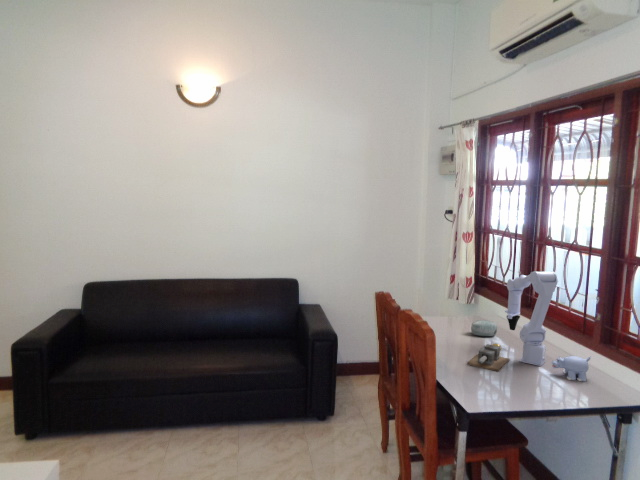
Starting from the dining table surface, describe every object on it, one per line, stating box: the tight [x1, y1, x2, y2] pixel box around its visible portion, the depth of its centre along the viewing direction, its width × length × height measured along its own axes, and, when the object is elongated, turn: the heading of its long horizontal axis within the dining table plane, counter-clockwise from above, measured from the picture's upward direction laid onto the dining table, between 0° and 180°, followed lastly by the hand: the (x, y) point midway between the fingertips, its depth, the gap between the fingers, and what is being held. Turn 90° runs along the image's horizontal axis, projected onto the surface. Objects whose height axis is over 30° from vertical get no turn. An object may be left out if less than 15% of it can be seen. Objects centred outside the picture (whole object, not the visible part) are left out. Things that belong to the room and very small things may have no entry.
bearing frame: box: [466, 343, 511, 373], centre depth 229 cm, size 14×17×6 cm
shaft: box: [479, 342, 502, 363], centre depth 229 cm, size 4×22×4 cm, turn 144°
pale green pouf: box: [470, 319, 498, 337], centre depth 269 cm, size 14×10×10 cm
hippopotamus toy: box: [551, 355, 592, 382], centre depth 215 cm, size 11×15×10 cm
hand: (512, 329), depth 248 cm, fingers closed
